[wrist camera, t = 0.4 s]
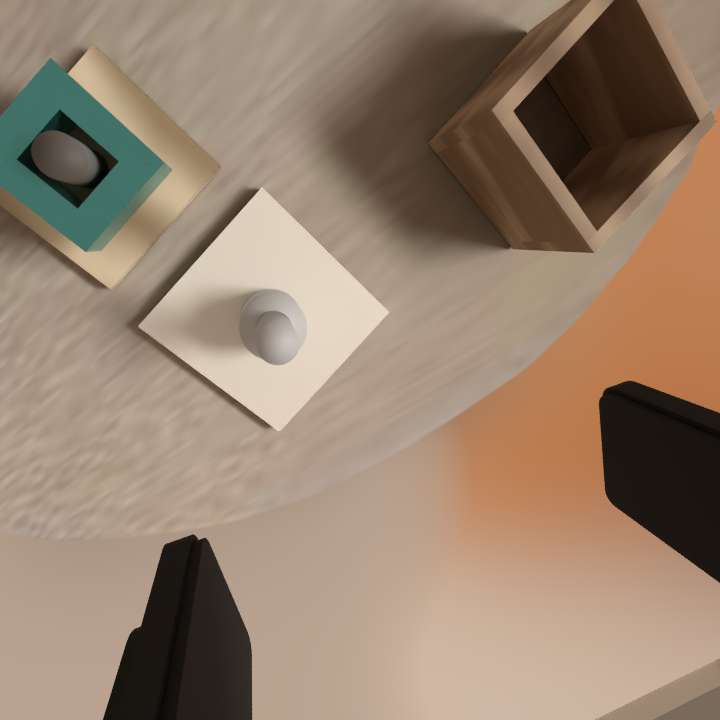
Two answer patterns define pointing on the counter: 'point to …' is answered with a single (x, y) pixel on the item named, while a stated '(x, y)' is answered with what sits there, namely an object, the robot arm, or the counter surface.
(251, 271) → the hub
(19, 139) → the teal square frame
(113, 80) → the stand
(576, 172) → the tool caddy
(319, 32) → the counter surface
